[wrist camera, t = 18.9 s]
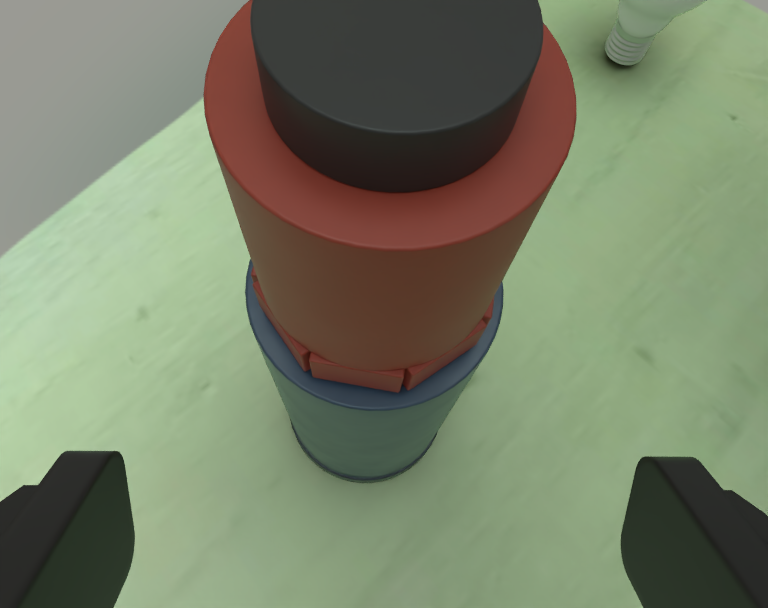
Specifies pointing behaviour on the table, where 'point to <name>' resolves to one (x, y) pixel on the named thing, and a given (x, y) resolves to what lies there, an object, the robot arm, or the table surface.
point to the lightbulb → (641, 26)
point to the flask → (364, 405)
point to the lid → (386, 169)
